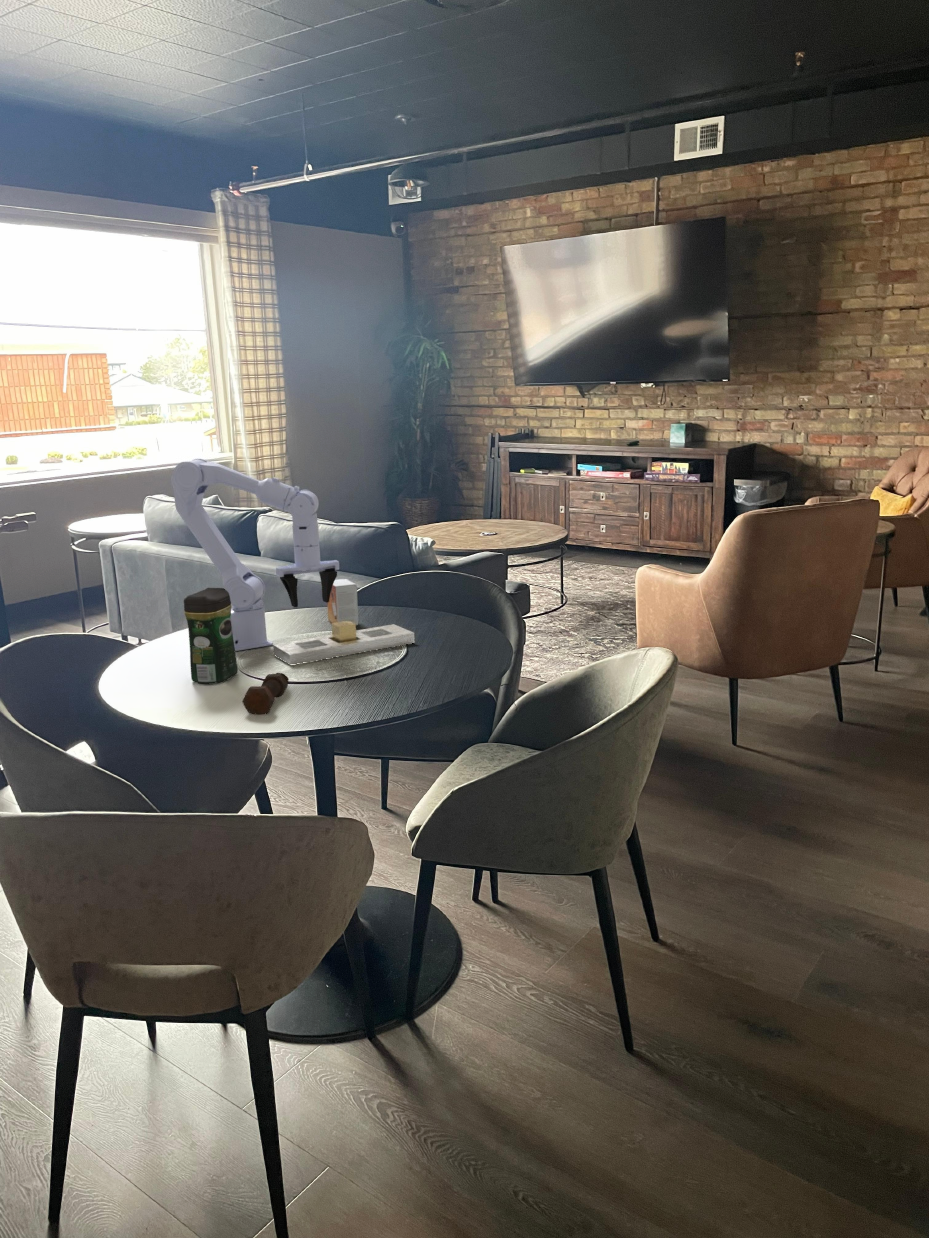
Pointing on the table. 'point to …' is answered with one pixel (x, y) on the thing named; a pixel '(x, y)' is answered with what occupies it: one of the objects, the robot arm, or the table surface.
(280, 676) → the bolt
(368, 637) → the board
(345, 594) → the small box
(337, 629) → the block
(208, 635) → the coffee jar
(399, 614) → the table surface
